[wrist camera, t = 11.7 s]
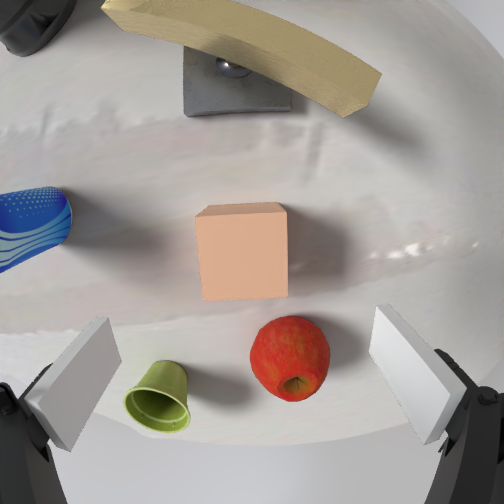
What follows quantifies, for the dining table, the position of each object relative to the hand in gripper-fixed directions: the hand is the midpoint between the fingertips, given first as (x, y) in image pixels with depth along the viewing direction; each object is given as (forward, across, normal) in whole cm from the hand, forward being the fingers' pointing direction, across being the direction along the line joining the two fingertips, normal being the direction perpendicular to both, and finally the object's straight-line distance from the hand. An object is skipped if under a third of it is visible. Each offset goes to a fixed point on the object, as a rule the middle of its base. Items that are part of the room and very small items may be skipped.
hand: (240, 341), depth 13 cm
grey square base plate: (+22, 0, +21) cm, 31 cm away
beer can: (+22, -27, +5) cm, 36 cm away
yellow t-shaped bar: (+20, 0, +21) cm, 29 cm away
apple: (+22, +5, -15) cm, 27 cm away
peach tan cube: (+22, 0, 0) cm, 22 cm away
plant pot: (+22, -13, -21) cm, 33 cm away
